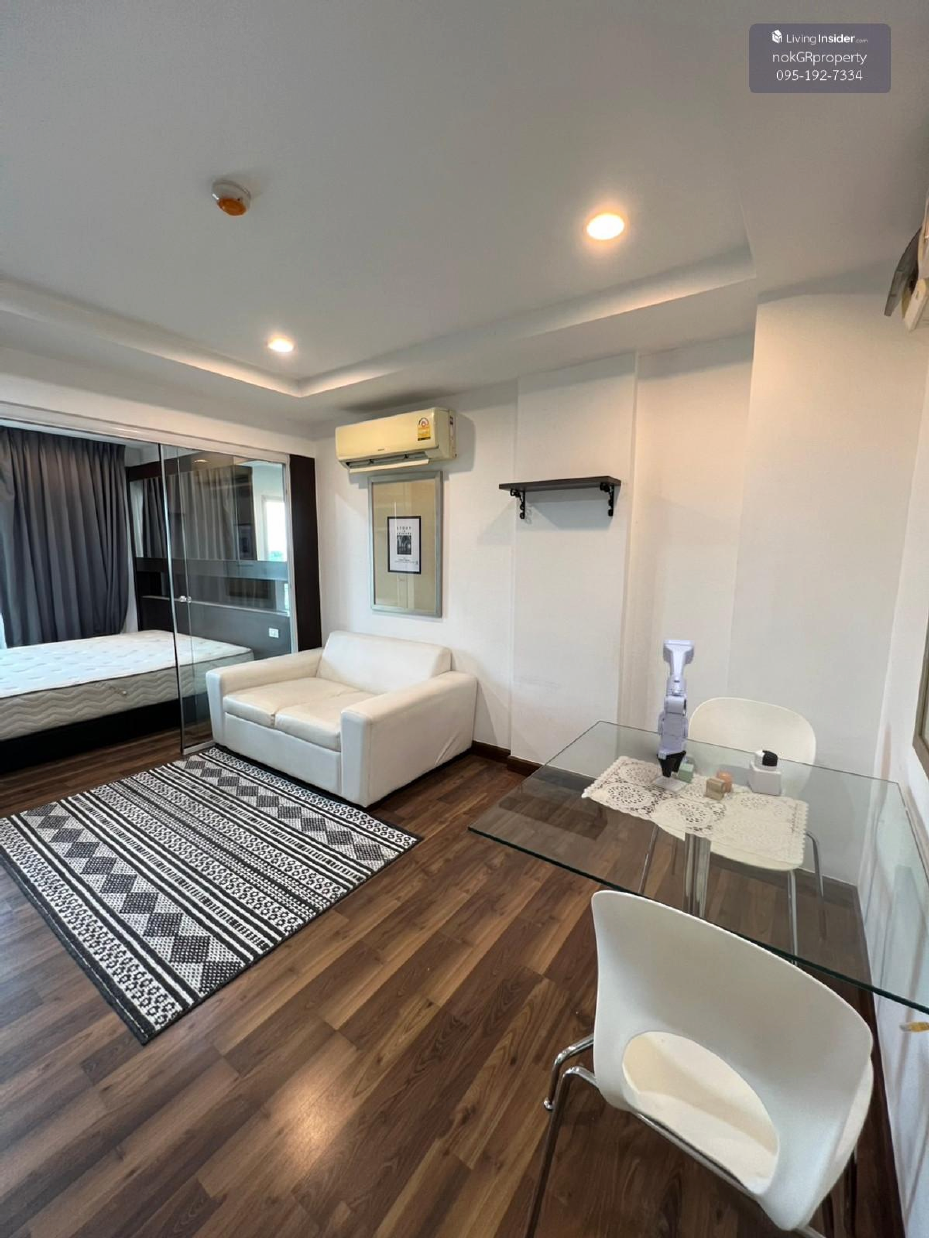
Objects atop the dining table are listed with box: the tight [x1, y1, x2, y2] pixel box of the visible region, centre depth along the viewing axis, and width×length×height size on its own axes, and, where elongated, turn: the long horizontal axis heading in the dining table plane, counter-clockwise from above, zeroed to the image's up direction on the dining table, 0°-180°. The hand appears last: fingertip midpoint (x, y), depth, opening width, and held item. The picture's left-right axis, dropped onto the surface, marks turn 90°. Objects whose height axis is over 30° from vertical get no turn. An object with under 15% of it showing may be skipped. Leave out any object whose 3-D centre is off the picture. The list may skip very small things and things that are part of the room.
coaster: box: [651, 774, 689, 794], centre depth 153 cm, size 8×8×1 cm
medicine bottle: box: [747, 749, 782, 797], centre depth 150 cm, size 7×7×12 cm
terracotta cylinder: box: [715, 770, 734, 793], centre depth 150 cm, size 4×4×5 cm
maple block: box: [704, 776, 726, 802], centre depth 146 cm, size 4×4×5 cm
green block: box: [676, 762, 695, 784], centre depth 157 cm, size 4×4×6 cm
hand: (670, 774), depth 153 cm, fingers open, 5 cm apart
